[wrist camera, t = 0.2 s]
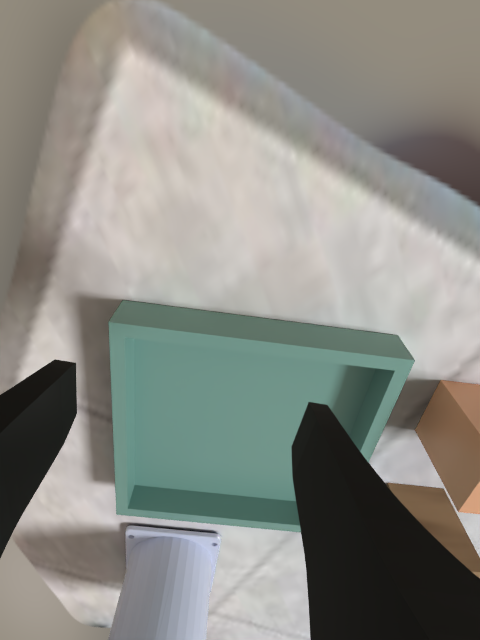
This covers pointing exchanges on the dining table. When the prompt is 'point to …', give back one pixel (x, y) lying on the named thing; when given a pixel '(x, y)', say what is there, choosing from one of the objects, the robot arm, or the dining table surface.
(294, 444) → the robot arm
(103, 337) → the dining table surface
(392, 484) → the walnut block
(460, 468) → the terracotta block
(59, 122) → the dining table surface
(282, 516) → the tray
